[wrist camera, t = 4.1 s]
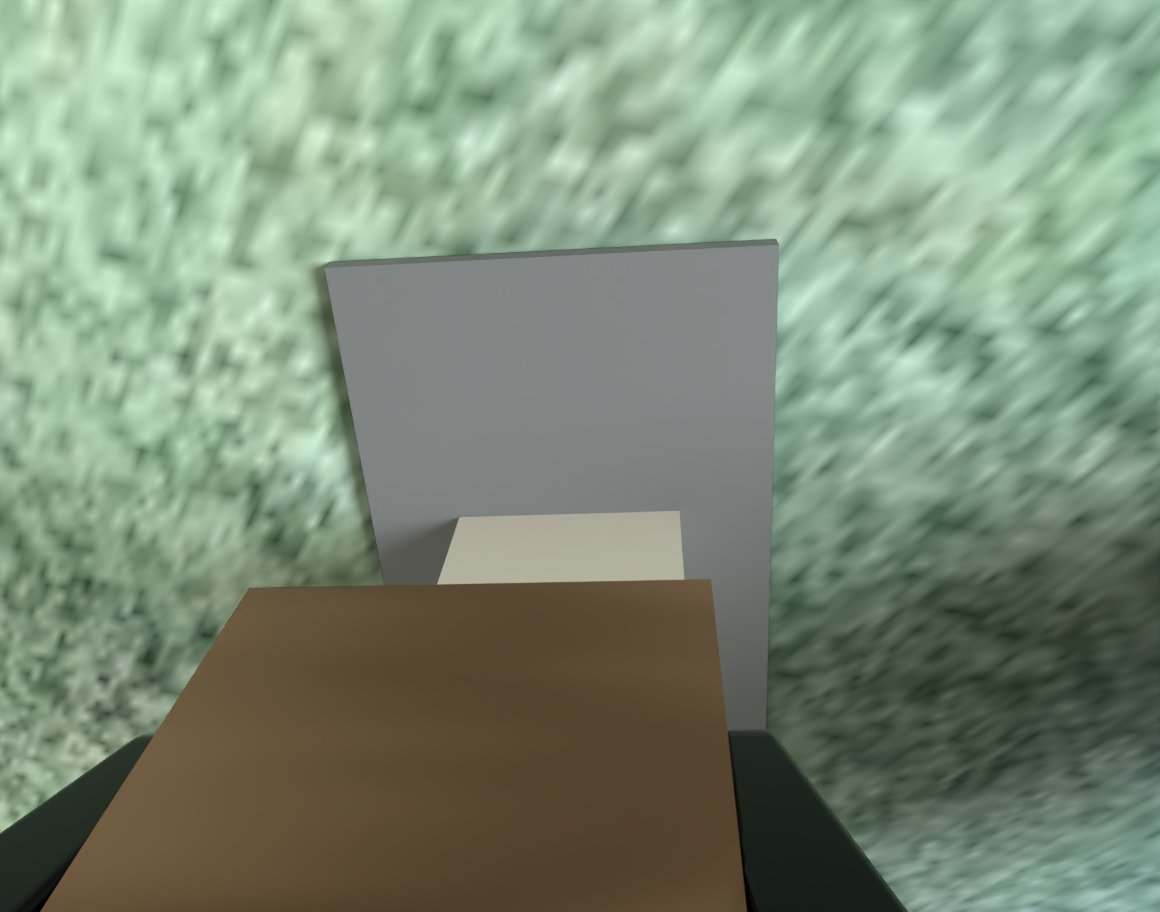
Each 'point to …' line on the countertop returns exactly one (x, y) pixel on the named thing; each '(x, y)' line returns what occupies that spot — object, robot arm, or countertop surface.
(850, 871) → the robot arm
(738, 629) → the mat
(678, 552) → the tile
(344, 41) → the countertop surface
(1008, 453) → the countertop surface
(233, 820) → the walnut domino
